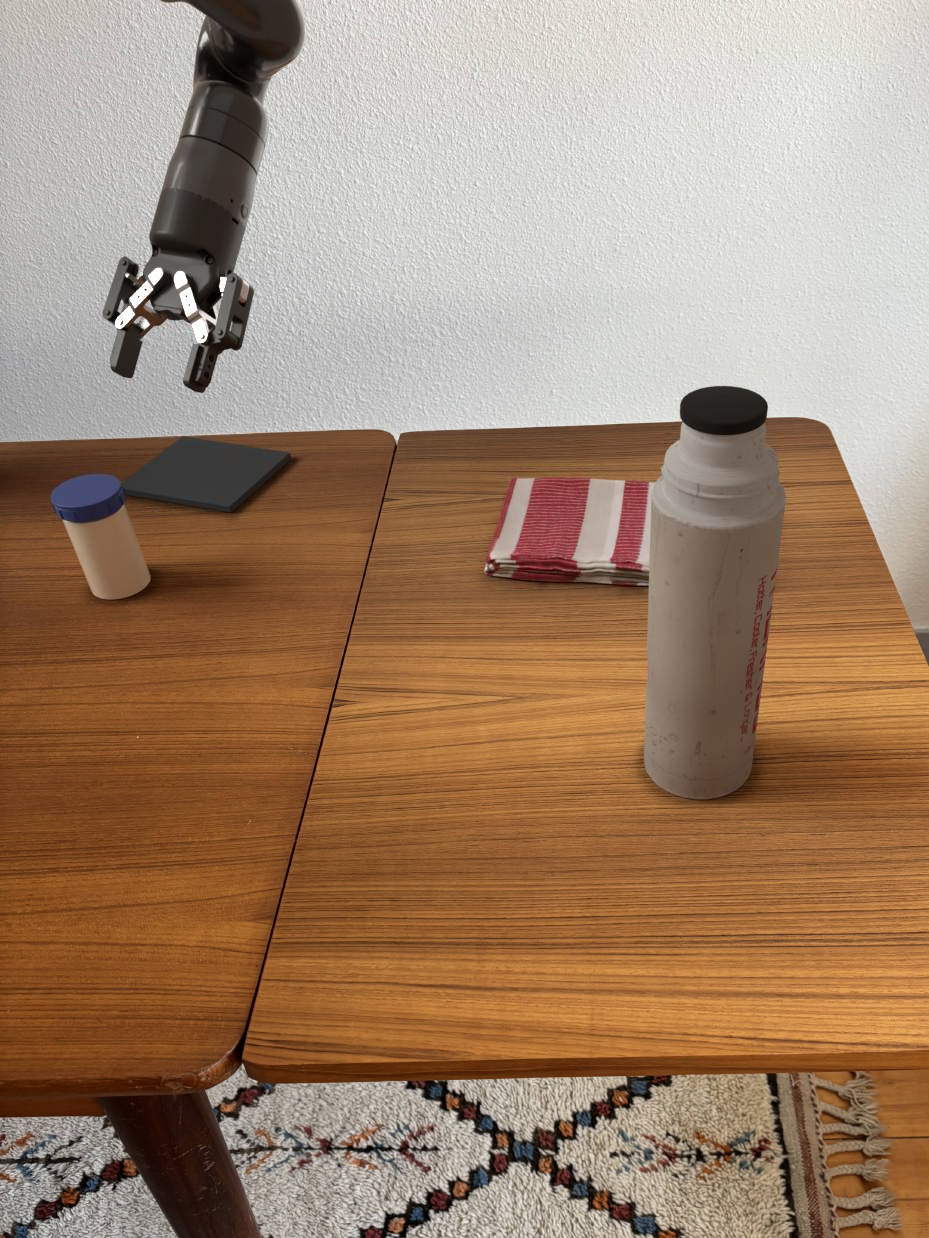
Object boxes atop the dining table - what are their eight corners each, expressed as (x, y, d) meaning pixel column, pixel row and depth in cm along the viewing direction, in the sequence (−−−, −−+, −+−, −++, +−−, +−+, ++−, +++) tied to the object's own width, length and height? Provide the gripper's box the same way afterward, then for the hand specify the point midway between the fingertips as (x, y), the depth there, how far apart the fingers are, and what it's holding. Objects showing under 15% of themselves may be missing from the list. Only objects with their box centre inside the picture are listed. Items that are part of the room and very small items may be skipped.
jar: (78, 594, 97) (41, 505, 90) (115, 563, 100) (82, 476, 94) (127, 604, 95) (93, 515, 89) (162, 572, 99) (132, 484, 93)
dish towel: (740, 592, 93) (743, 567, 91) (482, 581, 96) (480, 556, 94) (741, 496, 105) (743, 472, 104) (512, 488, 108) (510, 465, 106)
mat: (117, 493, 110) (115, 487, 110) (184, 442, 118) (182, 435, 118) (231, 513, 106) (229, 506, 106) (292, 459, 115) (290, 452, 114)
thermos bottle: (768, 746, 79) (818, 386, 59) (726, 814, 74) (766, 445, 54) (671, 713, 82) (690, 361, 62) (625, 777, 77) (629, 415, 58)
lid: (42, 516, 91) (35, 501, 90) (85, 484, 95) (80, 469, 94) (97, 527, 89) (91, 511, 88) (139, 494, 93) (134, 478, 92)
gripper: (114, 178, 94) (66, 353, 94) (241, 192, 89) (190, 377, 89) (171, 223, 101) (126, 386, 101) (292, 239, 96) (244, 410, 96)
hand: (156, 382), depth 95 cm, fingers open, 8 cm apart
